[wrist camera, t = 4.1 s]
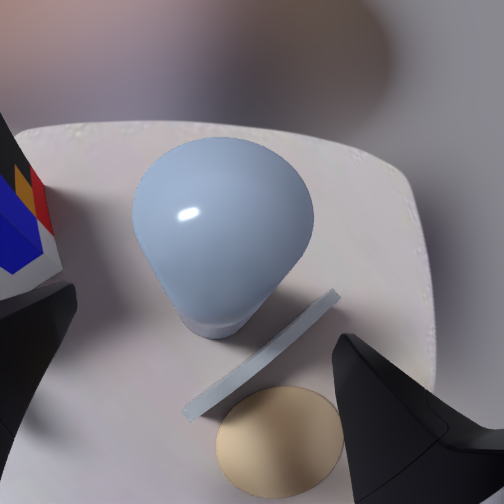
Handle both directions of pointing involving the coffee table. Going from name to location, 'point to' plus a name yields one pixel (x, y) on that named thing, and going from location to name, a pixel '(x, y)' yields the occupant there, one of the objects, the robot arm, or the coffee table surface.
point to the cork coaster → (279, 442)
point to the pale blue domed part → (221, 229)
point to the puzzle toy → (23, 223)
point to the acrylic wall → (260, 357)
